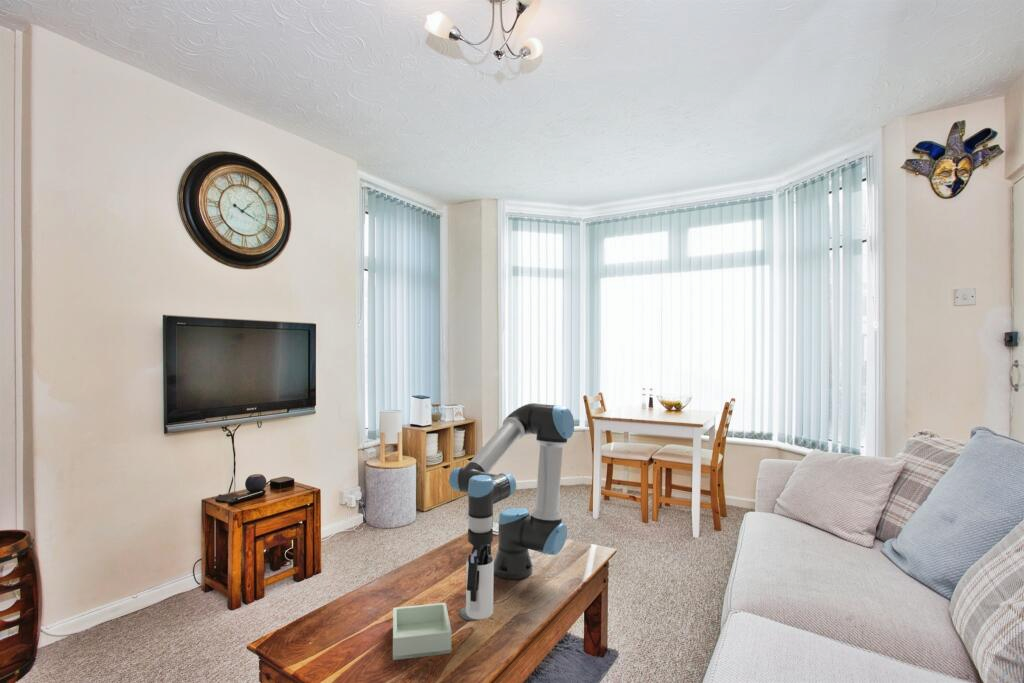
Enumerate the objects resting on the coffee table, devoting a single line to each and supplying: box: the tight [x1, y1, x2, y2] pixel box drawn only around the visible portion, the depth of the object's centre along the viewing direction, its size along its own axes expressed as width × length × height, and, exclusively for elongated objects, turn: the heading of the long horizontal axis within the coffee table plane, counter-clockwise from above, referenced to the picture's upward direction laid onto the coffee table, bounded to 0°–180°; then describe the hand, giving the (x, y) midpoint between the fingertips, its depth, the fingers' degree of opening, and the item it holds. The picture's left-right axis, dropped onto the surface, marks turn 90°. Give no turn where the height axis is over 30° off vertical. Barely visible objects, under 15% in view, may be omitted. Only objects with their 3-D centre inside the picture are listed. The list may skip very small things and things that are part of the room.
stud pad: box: [459, 605, 479, 621], centre depth 160 cm, size 8×8×1 cm
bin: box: [392, 602, 453, 661], centre depth 145 cm, size 16×16×6 cm
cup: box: [465, 554, 495, 620], centre depth 150 cm, size 8×8×16 cm
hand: (479, 602), depth 150 cm, fingers closed on cup, 8 cm apart
